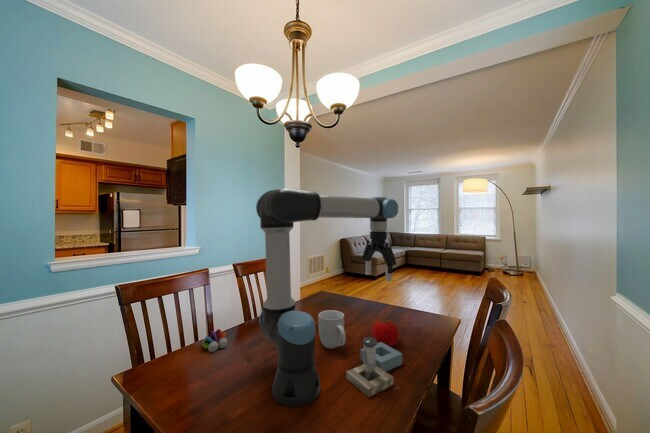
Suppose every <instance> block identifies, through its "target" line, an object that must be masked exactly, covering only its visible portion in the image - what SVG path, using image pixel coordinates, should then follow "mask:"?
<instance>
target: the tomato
mask: <svg viewBox="0 0 650 433" xmlns="http://www.w3.org/2000/svg"><path fill="white" fill-rule="evenodd" d="M398 330H399V329H398V327H397V326H396V324H394V322H393V321H391V320H389V319H384V320H381V319H378V320H376V321H375V322H374V323H373V324H372V327H371V330H370V331H371V337H372V338H375V339H376V340H377V343H379V342H382V343H384V344H386V345H388V346H389V347H391V348H393V346H394V345H396V344H397V343H398V341H399V331H398Z"/></svg>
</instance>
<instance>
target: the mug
mask: <svg viewBox="0 0 650 433" xmlns="http://www.w3.org/2000/svg"><path fill="white" fill-rule="evenodd" d="M317 324H318V336H319V339H320V342H321V344H322V346H324V348H326V349H332V350H333V349H337V348H339V347H342V346H345V344H346V341H347V338H346V337H347V336H346V331H345V313H343V312H341V311H339V310H330V309H329V310H328V309H327V310H323V311H321V312H319V313H318V323H317Z"/></svg>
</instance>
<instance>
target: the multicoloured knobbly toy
mask: <svg viewBox="0 0 650 433" xmlns="http://www.w3.org/2000/svg"><path fill="white" fill-rule="evenodd" d="M226 335H227V333H226V332H225V331H222V329H220V328H217V329H216V330H215V331H214V330H211V331H210V336H208V335H205V337H204V339H203V340H202V344H201V345H202V347H203V348H204V349H208V352H210V353H214V352H216V351H217V350H218V348H219V349H225V348H226V347H227V345H228V339H227V338H226Z"/></svg>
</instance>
